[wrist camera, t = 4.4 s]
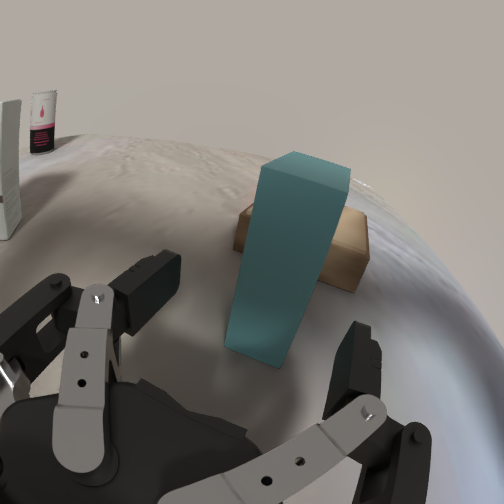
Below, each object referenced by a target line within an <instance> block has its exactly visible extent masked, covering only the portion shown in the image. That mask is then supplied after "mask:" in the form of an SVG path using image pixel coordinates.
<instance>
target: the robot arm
mask: <svg viewBox="0 0 504 504" xmlns="http://www.w3.org/2000/svg"><path fill="white" fill-rule="evenodd" d="M180 270H181V256H180V255H179V254H176V253H174V252H171V251H169V250H166V249H165V250H163V251H162V252H160V253H159V254H158V255H156V256H153V255H152V256H149V257H146V258H143V259H141V260H140V261H139V262H137V263H136V264H135V265H133V266H132V267H130V268H129V270H126V271H125V272H124V273H122V274H121V275H120V276H118V277H117V278H116V279H114V280H113V281H112V282H111V283H109V284H108V285H105V284H94V285H91V286H89V287H87V288H86V289H81V288H77V287H73V286H71V282H70V278H69V277H68V276H67V275H65V274H61V273H56V274H52V275H50V276H48V277H47V278H45V279H44V280H43V281H41V282H40V283H39V284H37V285H36V286H35V287H33V288H32V289H31V290H29V291H28V292H27V293H26V294H24V295H23V296H22V297H21V298H19V299H18V300H17V301H16V302H14V303H13V304H12V305H11V306H10V307H8V308H7V309H6V310H5V311H4V312H2V313H1V314H0V504H283V502H282V501H284V500H285V499H287V498H289V497H290V496H292V495H293V494H295V493H297V492H298V491H300V490H301V489H303V488H304V487H306V486H307V485H309V484H310V483H312V482H313V481H315V480H316V479H317V478H319V477H320V476H322V475H323V474H324V473H326V472H327V471H329V470H330V469H331V468H333V467H334V466H335V465H336V464H338V463H339V462H340V461H342V460H343V459H344V458H345V457H346V456H348V457H350V458H352V459H353V460H355V461H357V462H358V463H360V464H362V469H361V473H360V477H359V480H358V484H357V488H356V491H355V495H354V498H353V501H352V504H425V502H426V496H427V489H428V481H429V472H430V460H431V444H432V438H431V434H430V432H429V430H428V428H427V427H426V426H424V425H423V424H421V423H419V422H411V423H409V424H407V425H406V426H403V425H402V424H400V423H398V422H396V421H395V420H393V419H391V418H390V417H389V416H388V415H387V410H386V407H385V405H384V403H383V402H382V401H381V400H380V395H381V366H382V363H381V361H382V351H381V349H380V346H379V344H378V342H377V341H375V340H372V339H371V327H370V326H368V325H365V324H362V323H359V322H357V321H354V322H353V323H352V325H351V326H350V328H349V330H348V332H347V333H346V335H345V337H344V339H343V340H342V342H341V344H340V346H339V348H338V350H337V352H336V356H335V360H334V365H333V370H332V376H331V381H330V385H329V390H328V395H327V399H326V404H325V408H324V413H323V417H322V420H325V421H324V422H322V423H321V424H315V425H313V426H311V427H310V428H308V429H307V430H305V431H303V432H302V433H300V434H298V435H297V436H295V437H293V438H292V439H290V440H288V441H287V442H285V443H283V444H281V445H280V446H278V447H276V448H274V449H272V450H270V451H269V452H267V453H265V454H263V453H262V452H261V451H260V449H259V448H258V447H257V446H256V445H255V444H254V443H253V442H252V441H251V440H249V439H248V438H246V437H245V434H246V432H247V429H245V428H242V427H240V426H237V425H235V424H232V423H230V422H227V421H225V420H223V419H220V418H216V417H212V416H207V415H202V414H198V413H194V412H190V411H188V410H186V409H185V408H184V407H182V406H181V405H180V404H179V403H178V402H176V401H175V400H174V399H173V398H172V397H171V396H170V395H168V394H167V393H166V392H165V391H163V390H161V389H160V388H158V387H156V386H154V385H152V384H151V383H149V382H147V381H145V380H144V379H142V378H141V380H140V381H139V382H138V383H137V384H134V383H129V382H122V378H121V335H122V334H123V333H124V332H125V333H127V334H129V335H131V336H132V337H133V336H134V335H135V334H136V333H137V332H138V331H139V330H140V329H141V328H142V327H143V326H144V325H145V324H146V323H147V322H148V321H149V320H150V319H151V318H152V317H153V316H154V315H155V314H156V313H157V312H158V311H159V310H160V309H161V308H162V307H163V305H164V304H165V303H166V302H167V301H168V300H169V299H170V298H171V297H172V296H173V295H174V294H175V293H176V291H177V290H178V287H179V284H180ZM50 314H51V316H52V320H51V321H50V322H48V323H47V324H46V325H45V326H44V327H43V328H42V329H41V330H40V331H39V332H38V333H37V334H36V329H37V326H38V325H39V324H40V323H41V322H42V321H43V320H44V319H45V318H46V317H47V316H49V315H50ZM64 348H65V352H64V359H63V365H62V373H61V381H60V390H59V393H57V394H52V395H46V396H40V397H34V398H30V395H29V392H30V387H31V383H32V382H33V381H34V380H35V379H36V378H37V377H38V376H39V375H40V374H41V372H42V371H43V370H44V369H45V368H46V367H47V366H48V365H49V364H50V363H51V362H52V361H53V360H54V359H55V358H56V357H57V355H58V354H59V353H60V352H61V351H62V350H63V349H64Z"/></svg>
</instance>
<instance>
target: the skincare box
mask: <svg viewBox="0 0 504 504" xmlns="http://www.w3.org/2000/svg"><path fill="white" fill-rule="evenodd" d="M21 102H22V101H21V100H9V101H1V102H0V240H7V239H9V238H10V237H11V235H12V233H13V232H14V230H15V229H16V227H17V225H18V224H19V222H20V221H21V219H22V210H21V200H20V186H19V126H20V112H21Z"/></svg>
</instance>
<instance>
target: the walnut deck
mask: <svg viewBox="0 0 504 504" xmlns="http://www.w3.org/2000/svg"><path fill="white" fill-rule="evenodd" d="M253 204H254V203H253ZM253 204H251V205H250V206H249V207H248V208H246V209H245V210H244V211H243V212H242V213H240V215H239V221H238V226H237V231H236V236H235V241H234V247H233V250H236V251H239V252H242V253H243V251H244V247H245V242H246V237H247V232H248V228H249V223H250V218H251V214H252V209H253ZM369 260H370V255H369V239H368V226H367V216H366V215H364V213H363V212H360V211H358V210H355V209H352V208H349V207H346V206H344V208H343V211H342V214H341V217H340V220H339V223H338V226H337V228H336V231H335V234H334V237H333V240H332V243H331V245H330V248H329V251H328V253H327V256H326V259H325V262H324V264H323V267H322V269H321V272H320V275H319V277H318V280H319V281H322V282H325V283H327V284H330V285H333V286H336V287H338V288H341V289H344V290H347V291H350V292H352V293H354V292H355V290H356V288H357V286H358V284H359V282H360V280H361V277H362V275H363V273H364V271H365V269H366V266H367V264H368V262H369Z"/></svg>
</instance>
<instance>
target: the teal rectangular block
mask: <svg viewBox="0 0 504 504" xmlns="http://www.w3.org/2000/svg"><path fill="white" fill-rule="evenodd" d="M350 171H351V169H349V168H346V167H343V166H340V165H337V164H334V163H331V162H328V161H325V160H322V159H319V158H315V157H312V156H309V155H305V154H302V153H298V152H295V151H293V152H291V153H289V154H286V155H284V156H282V157H280V158H278V159H275V160H273V161H271V162H269V163H267V164H265V165H263V166H262V167H261V172H260V176H259V181H258V185H257V190H256V195H255V199H254V204H253V209H252V214H251V218H250V223H249V228H248V232H247V237H246V242H245V247H244V251H243V256H242V261H241V266H240V271H239V275H238V280H237V285H236V290H235V295H234V300H233V304H232V309H231V314H230V319H229V324H228V329H227V334H226V339H225V344H224V347H227V348H229V349H232V350H234V351H236V352H239V353H241V354H243V355H246V356H248V357H251V358H253V359H256V360H258V361H261V362H263V363H266V364H269V365H271V366H274V367H277V368H279V369H280V367H281V365H282V363H283V360H284V358H285V356H286V354H287V352H288V349H289V347H290V345H291V343H292V340H293V338H294V336H295V333H296V331H297V329H298V326H299V324H300V322H301V319H302V317H303V315H304V312H305V310H306V307H307V305H308V302H309V300H310V298H311V295H312V293H313V290H314V288H315V285H316V282H317V280H318V277H319V275H320V272H321V269H322V267H323V264H324V262H325V259H326V256H327V253H328V251H329V248H330V245H331V243H332V240H333V237H334V234H335V231H336V228H337V226H338V223H339V220H340V217H341V214H342V211H343V208H344V205H345V202H346V199H347V196H348V192H349V182H350Z"/></svg>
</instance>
